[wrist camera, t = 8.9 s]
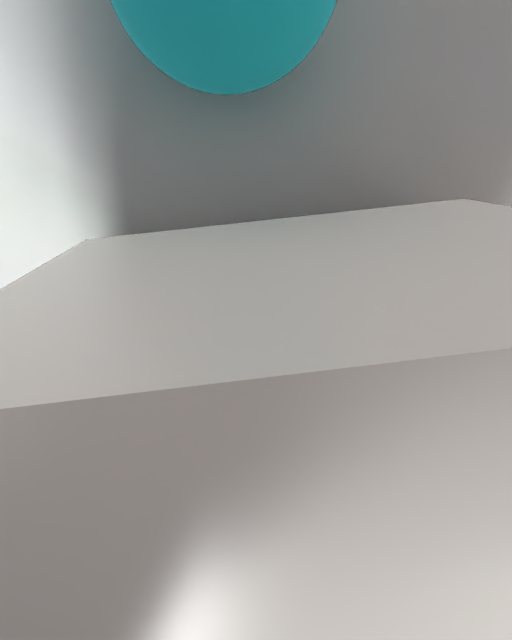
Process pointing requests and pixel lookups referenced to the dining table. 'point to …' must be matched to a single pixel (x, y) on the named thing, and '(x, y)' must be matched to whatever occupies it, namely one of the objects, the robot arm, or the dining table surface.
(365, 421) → the white box
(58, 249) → the dining table surface
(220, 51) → the ball
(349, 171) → the dining table surface
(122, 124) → the dining table surface
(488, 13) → the dining table surface
